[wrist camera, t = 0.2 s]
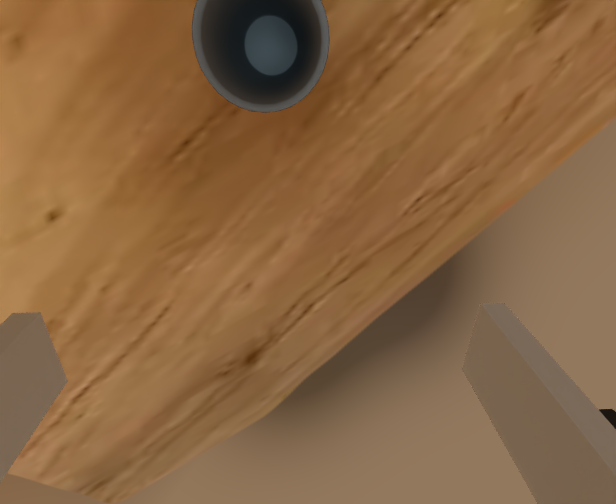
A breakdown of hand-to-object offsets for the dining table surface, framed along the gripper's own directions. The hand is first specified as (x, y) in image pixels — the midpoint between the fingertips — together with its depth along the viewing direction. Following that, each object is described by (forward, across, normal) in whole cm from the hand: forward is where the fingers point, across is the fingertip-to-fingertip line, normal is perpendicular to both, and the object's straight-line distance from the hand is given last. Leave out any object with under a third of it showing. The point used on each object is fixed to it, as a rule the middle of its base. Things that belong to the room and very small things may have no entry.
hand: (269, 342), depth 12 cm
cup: (+28, -1, +8) cm, 29 cm away
